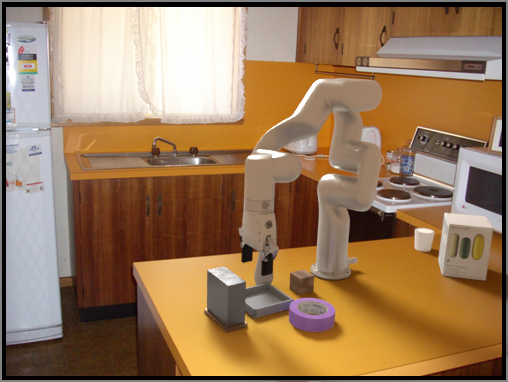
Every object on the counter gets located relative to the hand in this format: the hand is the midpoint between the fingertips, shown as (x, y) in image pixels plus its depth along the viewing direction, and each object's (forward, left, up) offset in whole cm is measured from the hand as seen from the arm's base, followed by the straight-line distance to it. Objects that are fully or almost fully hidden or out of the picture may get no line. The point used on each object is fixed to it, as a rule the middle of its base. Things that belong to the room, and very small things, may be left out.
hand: (256, 268), depth 135 cm
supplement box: (-74, +8, -13) cm, 75 cm away
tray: (-4, -3, -12) cm, 13 cm away
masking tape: (-10, +11, -13) cm, 20 cm away
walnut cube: (-19, -5, -12) cm, 23 cm away
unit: (+9, 0, -12) cm, 15 cm away
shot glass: (-79, -12, -12) cm, 81 cm away
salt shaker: (-11, -13, -12) cm, 21 cm away
